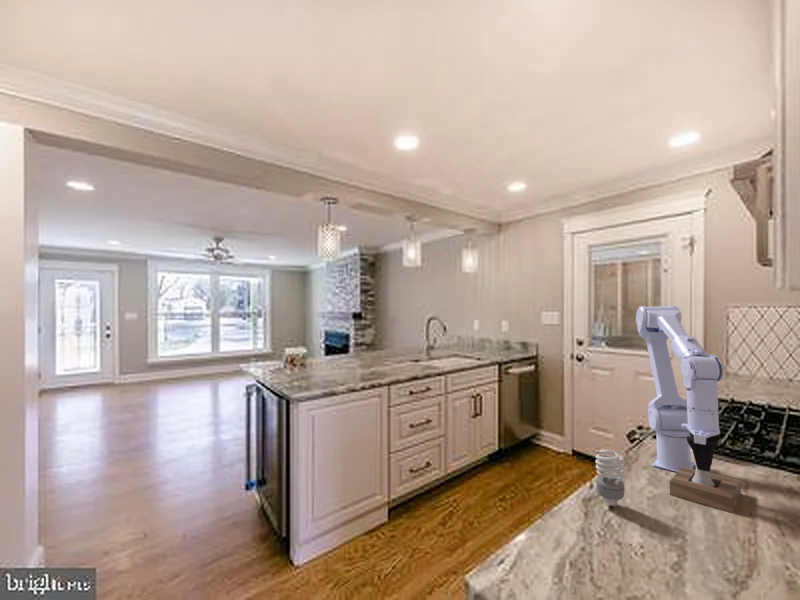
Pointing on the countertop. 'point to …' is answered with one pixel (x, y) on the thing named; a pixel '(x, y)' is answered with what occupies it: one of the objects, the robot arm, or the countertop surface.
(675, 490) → the socket block
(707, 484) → the rook chess piece
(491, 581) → the countertop surface
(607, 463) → the light bulb
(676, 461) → the robot arm
